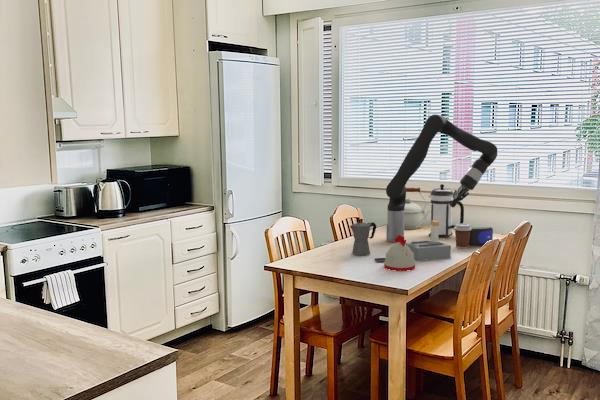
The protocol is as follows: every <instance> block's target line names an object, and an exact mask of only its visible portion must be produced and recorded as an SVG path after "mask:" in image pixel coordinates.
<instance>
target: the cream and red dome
mask: <svg viewBox="0 0 600 400" xmlns="http://www.w3.org/2000/svg"><path fill="white" fill-rule="evenodd" d="M406 242H407V240H406V239H405V236H404V237H402V236H400V235H398V237H396V239H395V242H394V243H393V244H392V245H391V247H389V248H388V251H387V252H385V257H384V258H385V262H383V264H384V266H383V267H384V269H386V268H387V269H386V270H388V269H390V270H389V271H392V270H396V271H395V272H408V271H407V270H410V271H414V270H415V269H416V260H415V259H414V252H411V250H410V248H409V247H408V246H407V245H406V244H405V243H406Z"/></svg>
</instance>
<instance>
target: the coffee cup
mask: <svg viewBox="0 0 600 400" xmlns="http://www.w3.org/2000/svg"><path fill="white" fill-rule="evenodd" d="M455 225H456V226H455V227H454V228H453V230H454V234H455V236H454V237H455V248H457V249H461V250H463V249H469V239H470V231H471V230H472V228H473V227H471V225H470V224H468V223H463V224H460V223H456V224H455Z"/></svg>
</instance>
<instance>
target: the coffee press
mask: <svg viewBox="0 0 600 400" xmlns="http://www.w3.org/2000/svg"><path fill="white" fill-rule="evenodd" d="M444 187H445V185H444V184H440V186H439V187H437V188H434V189H432V190H431V192H430V194H429V195H428V198H430V210H431V212H430V222H431V221H432V220H435V221H438V222H439V235H438V236H445V238H446V239H449V238H450V236H452V235H453V234H454V233H453V232H452V229H454V227H455V226H456V224H454V225H453V207H451V206H450V203H451V202H452V201H453V194H454V191H453V190H451V189H450V188H444ZM456 205H458V206H459V207H460V215H459V217H460V219H459V224H464V221H465V220H464V219H465V218H464V217H465V216H464V215H465V209H464V203H462V201H459V202H458V203H457V204H456ZM429 225H430V224H429ZM449 235H450V236H449ZM428 236H429V237H431V225H430V232H429V235H428Z"/></svg>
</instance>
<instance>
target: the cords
mask: <svg viewBox="0 0 600 400" xmlns="http://www.w3.org/2000/svg"><path fill="white" fill-rule="evenodd" d="M385 258H386V257H377V258H376V257H375V258H374V261H375V262H376V263H385Z"/></svg>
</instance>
